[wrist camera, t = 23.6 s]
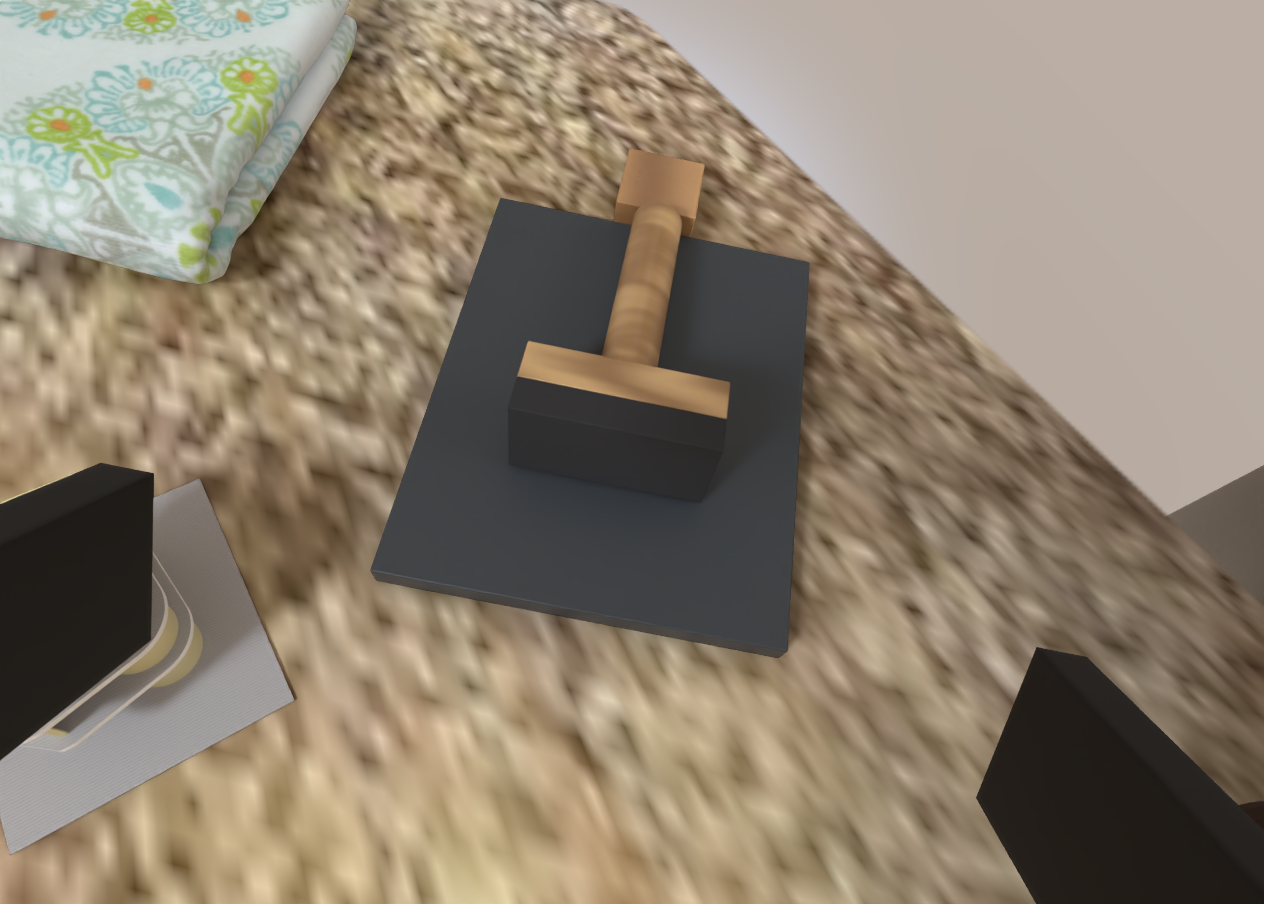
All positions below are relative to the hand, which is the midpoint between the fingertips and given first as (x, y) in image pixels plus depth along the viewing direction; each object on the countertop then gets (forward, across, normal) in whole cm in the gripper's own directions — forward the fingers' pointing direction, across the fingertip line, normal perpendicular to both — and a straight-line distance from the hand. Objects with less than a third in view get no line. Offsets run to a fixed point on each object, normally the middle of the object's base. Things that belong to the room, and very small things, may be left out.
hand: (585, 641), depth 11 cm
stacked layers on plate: (+13, -16, -12) cm, 24 cm away
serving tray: (+23, 0, -2) cm, 23 cm away
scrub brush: (+18, 0, -2) cm, 18 cm away
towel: (+31, -28, +6) cm, 42 cm away
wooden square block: (+32, 0, +7) cm, 32 cm away
